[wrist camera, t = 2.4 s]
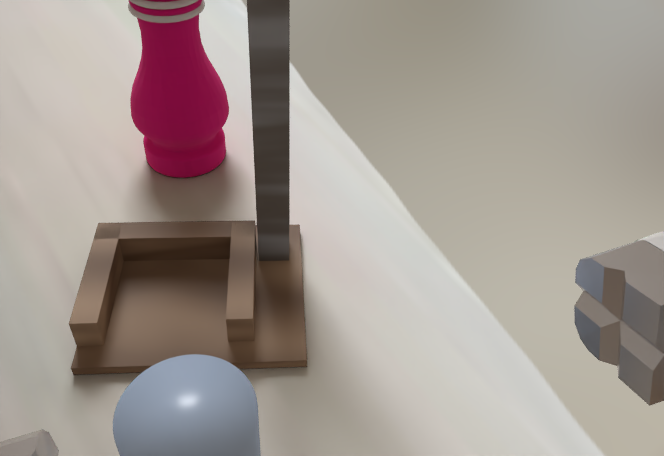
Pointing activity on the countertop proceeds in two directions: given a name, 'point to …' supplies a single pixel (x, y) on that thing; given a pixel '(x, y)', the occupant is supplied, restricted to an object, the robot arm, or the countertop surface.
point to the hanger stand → (206, 257)
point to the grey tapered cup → (188, 410)
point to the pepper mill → (177, 91)
